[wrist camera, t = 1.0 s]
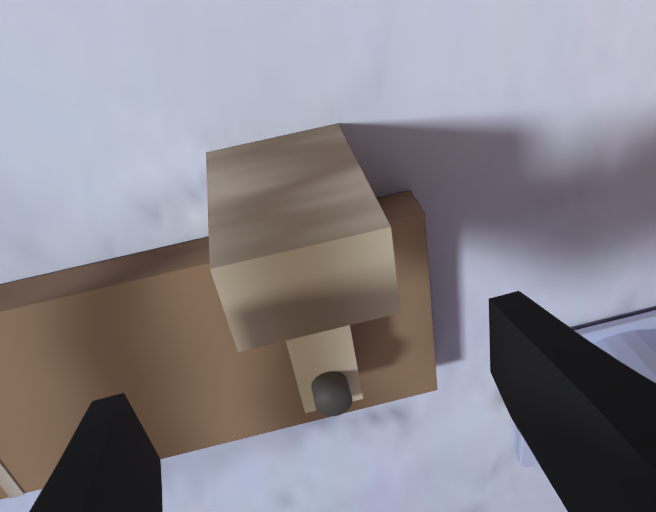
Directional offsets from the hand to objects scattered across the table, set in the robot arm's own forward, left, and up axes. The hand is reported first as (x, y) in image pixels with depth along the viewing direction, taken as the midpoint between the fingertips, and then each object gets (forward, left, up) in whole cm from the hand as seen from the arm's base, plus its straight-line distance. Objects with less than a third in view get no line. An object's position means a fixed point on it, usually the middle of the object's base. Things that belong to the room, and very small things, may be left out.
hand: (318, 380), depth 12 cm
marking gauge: (0, +3, -9) cm, 9 cm away
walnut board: (+6, +5, -8) cm, 11 cm away
